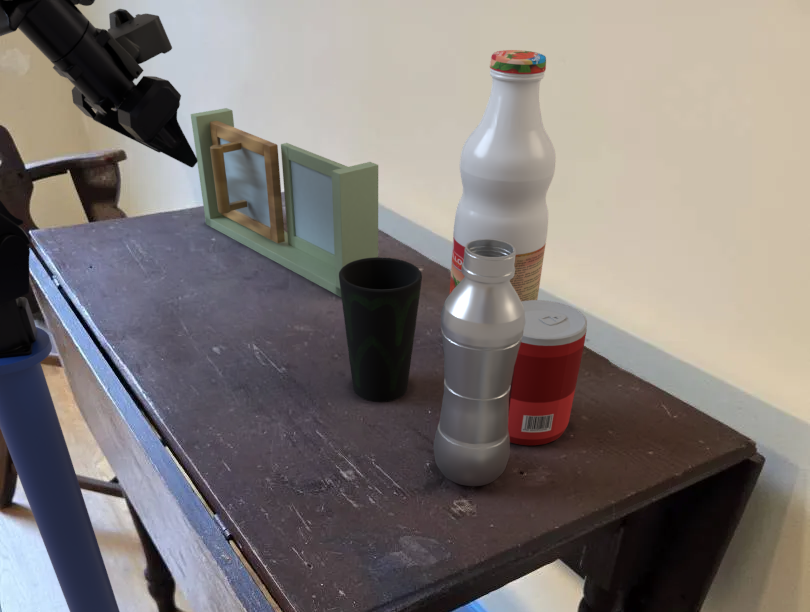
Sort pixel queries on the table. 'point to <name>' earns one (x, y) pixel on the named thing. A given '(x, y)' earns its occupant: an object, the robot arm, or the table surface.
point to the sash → (247, 180)
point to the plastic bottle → (479, 365)
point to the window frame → (303, 209)
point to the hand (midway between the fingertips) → (177, 156)
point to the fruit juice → (508, 172)
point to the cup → (380, 324)
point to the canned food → (545, 372)
